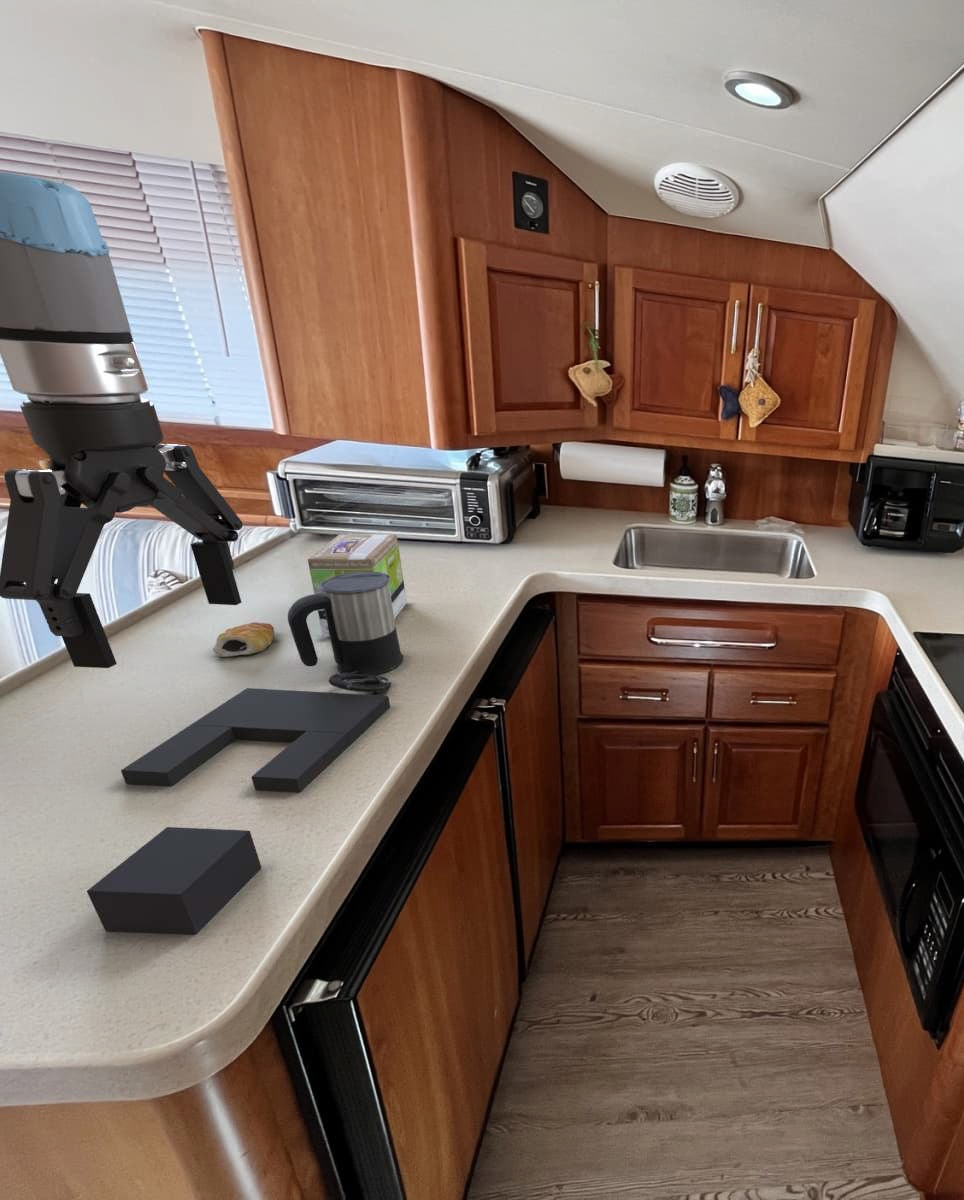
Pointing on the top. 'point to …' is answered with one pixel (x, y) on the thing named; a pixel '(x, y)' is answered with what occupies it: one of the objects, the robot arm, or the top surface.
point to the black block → (176, 881)
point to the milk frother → (352, 629)
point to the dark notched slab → (266, 736)
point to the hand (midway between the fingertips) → (167, 631)
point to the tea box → (359, 565)
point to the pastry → (244, 639)
